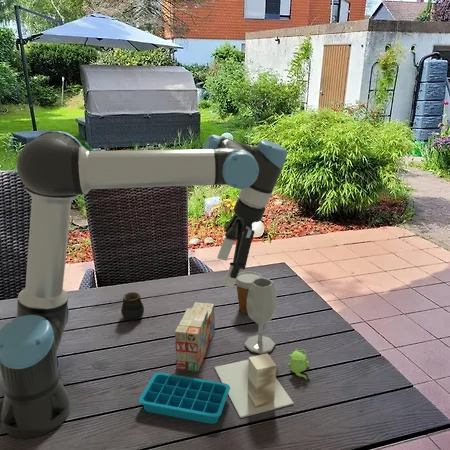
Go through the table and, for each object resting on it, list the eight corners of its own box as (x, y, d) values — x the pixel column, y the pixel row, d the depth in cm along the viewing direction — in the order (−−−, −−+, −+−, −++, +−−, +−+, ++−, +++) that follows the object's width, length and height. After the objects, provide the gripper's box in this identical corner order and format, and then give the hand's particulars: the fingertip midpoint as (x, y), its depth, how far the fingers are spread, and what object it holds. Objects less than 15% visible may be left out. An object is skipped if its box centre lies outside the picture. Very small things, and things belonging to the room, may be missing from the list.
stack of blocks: (195, 327, 142) (195, 292, 138) (214, 329, 141) (214, 294, 137) (176, 369, 122) (174, 330, 118) (198, 372, 121) (197, 333, 117)
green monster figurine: (306, 380, 118) (308, 362, 116) (286, 376, 120) (287, 358, 118) (309, 366, 124) (311, 348, 122) (290, 362, 125) (291, 345, 123)
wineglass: (280, 345, 133) (284, 281, 126) (262, 358, 127) (264, 292, 120) (257, 334, 138) (259, 272, 131) (239, 346, 132) (240, 282, 125)
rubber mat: (240, 418, 105) (240, 416, 105) (214, 368, 123) (214, 367, 123) (293, 404, 110) (293, 402, 110) (261, 358, 127) (261, 356, 127)
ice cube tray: (156, 381, 118) (155, 371, 117) (230, 394, 113) (231, 384, 112) (137, 412, 107) (136, 402, 106) (219, 428, 102) (219, 417, 101)
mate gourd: (145, 311, 151) (144, 285, 147) (142, 323, 144) (140, 296, 140) (124, 311, 150) (122, 285, 147) (119, 324, 143) (117, 296, 140)
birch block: (255, 407, 108) (256, 369, 104) (247, 394, 112) (248, 357, 109) (274, 403, 110) (276, 365, 106) (265, 389, 114) (267, 353, 110)
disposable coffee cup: (267, 306, 154) (268, 275, 150) (253, 319, 147) (254, 286, 143) (243, 299, 159) (244, 268, 155) (229, 310, 151) (229, 278, 147)
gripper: (276, 227, 102) (245, 302, 110) (256, 187, 124) (231, 252, 133) (246, 219, 100) (216, 295, 109) (231, 180, 123) (207, 246, 131)
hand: (224, 271), depth 121 cm, fingers open, 13 cm apart
